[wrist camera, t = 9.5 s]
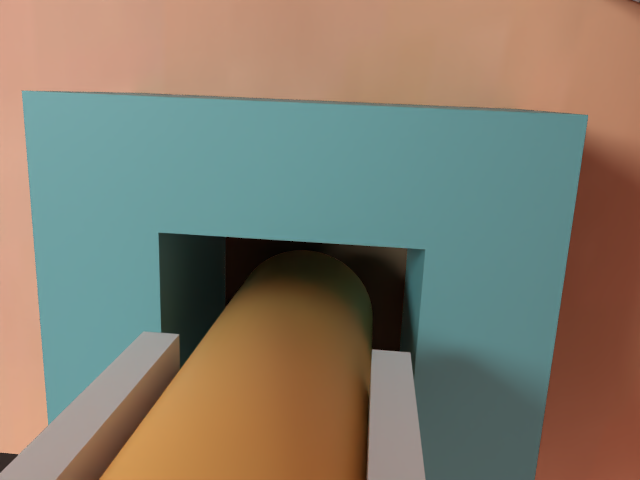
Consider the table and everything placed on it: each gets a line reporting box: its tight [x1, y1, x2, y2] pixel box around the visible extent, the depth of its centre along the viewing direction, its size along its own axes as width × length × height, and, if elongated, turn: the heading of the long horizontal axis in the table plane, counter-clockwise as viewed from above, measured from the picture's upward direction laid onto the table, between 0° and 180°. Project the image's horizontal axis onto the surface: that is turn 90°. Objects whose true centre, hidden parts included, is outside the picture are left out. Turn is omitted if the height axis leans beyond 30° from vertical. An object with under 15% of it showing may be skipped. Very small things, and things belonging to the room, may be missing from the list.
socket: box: [22, 91, 588, 480], centre depth 17 cm, size 12×12×6 cm
